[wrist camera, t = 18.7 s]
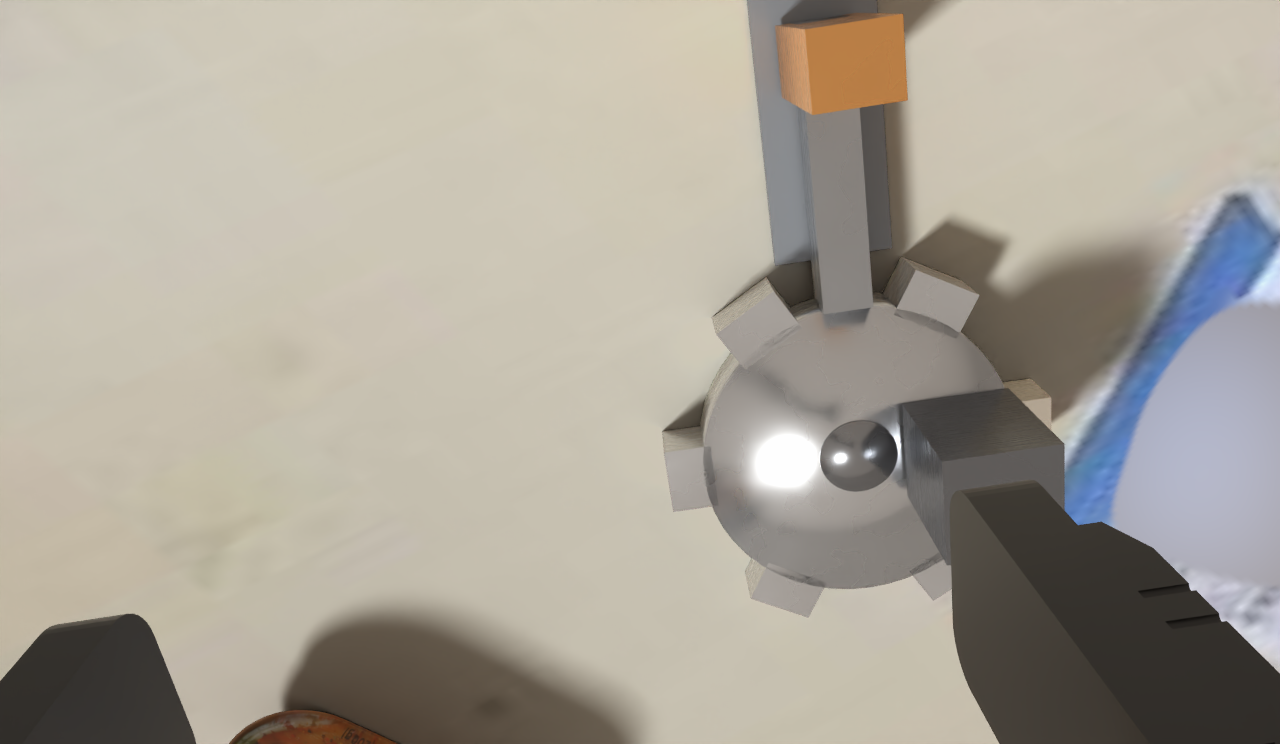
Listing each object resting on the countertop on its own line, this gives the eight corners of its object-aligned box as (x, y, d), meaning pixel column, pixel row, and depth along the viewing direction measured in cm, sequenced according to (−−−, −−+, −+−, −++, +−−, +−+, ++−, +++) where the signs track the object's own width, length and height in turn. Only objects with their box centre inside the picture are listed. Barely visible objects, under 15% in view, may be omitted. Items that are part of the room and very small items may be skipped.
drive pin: (801, 302, 37) (832, 355, 31) (774, 25, 33) (805, 29, 28) (875, 291, 37) (920, 342, 31) (856, 12, 33) (902, 13, 28)
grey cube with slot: (907, 496, 38) (948, 567, 33) (901, 403, 37) (942, 463, 32) (1010, 481, 38) (1066, 551, 33) (1008, 387, 36) (1065, 445, 32)
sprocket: (689, 605, 42) (692, 635, 40) (640, 295, 37) (641, 311, 35) (1032, 558, 41) (1052, 586, 39) (1029, 237, 36) (1052, 250, 34)
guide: (774, 264, 37) (775, 265, 37) (728, -181, 31) (728, -182, 31) (890, 246, 37) (892, 247, 36) (863, -204, 31) (864, -205, 31)
